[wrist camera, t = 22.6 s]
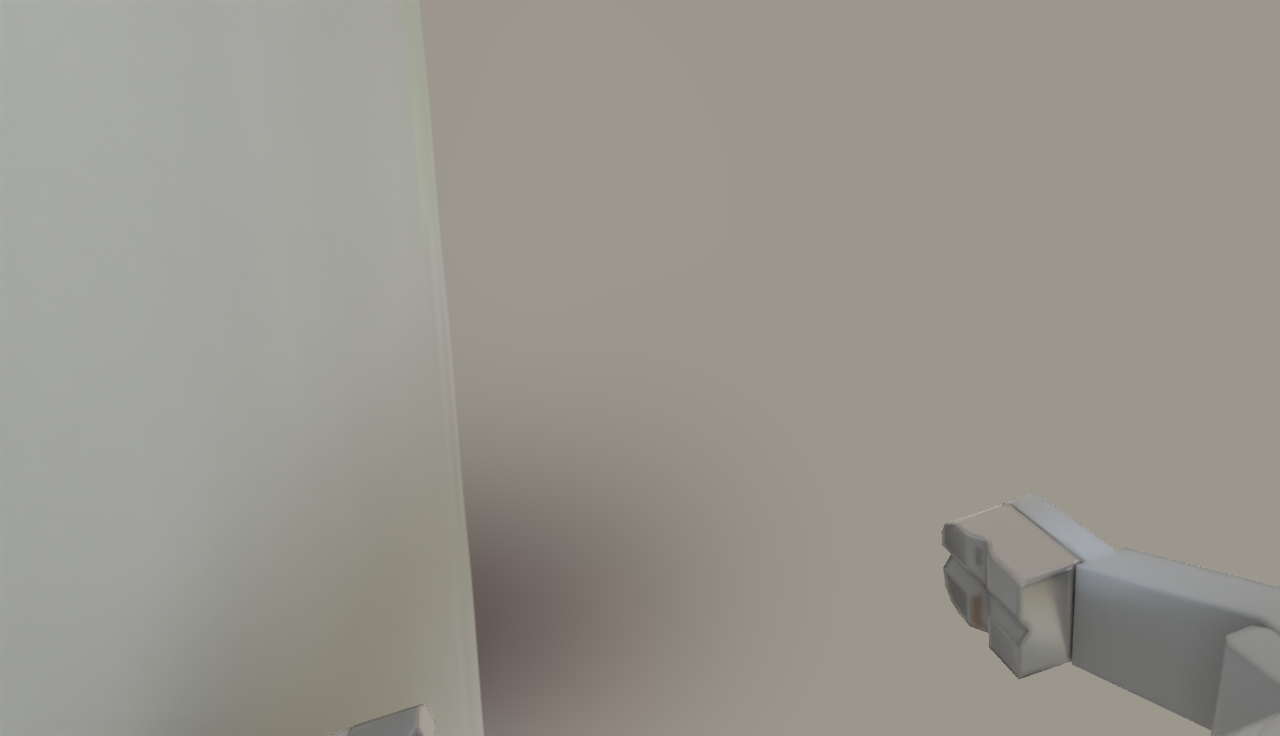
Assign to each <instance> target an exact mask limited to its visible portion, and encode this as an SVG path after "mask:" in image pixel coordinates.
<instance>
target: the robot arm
mask: <svg viewBox="0 0 1280 736" xmlns="http://www.w3.org/2000/svg"><path fill="white" fill-rule="evenodd" d="M942 545H943V546H944V547H945V548H946V549H947V550H948V551H949V552H950V554H951V555H950V557H949V559H948V561H947V563H946V564H945V566H944V568H943V569H944V579H945V586H946V589H947V591H948V594H949V596H950V599H951V602H952V603H953V605H954V606H955V608H956V610H957V611H958V612H959V614H960V615H961V617H962V618H963V619H964V620H965V621H966V622H967V623H968V624H969V625H970V626H971V627H974V628H976V629H979V630H982V631H985V632H987V633H989V647H990V649H991V650H992V651H993V652H994V653H995V654H996V655H997V656H998V657H999V658H1000V659H1001V660H1002V661H1003V663H1004V664H1005V665H1006V666H1007V667H1008V668H1009V669H1010V670H1011V671H1012V672H1013V673H1014V674H1015V676H1016V677H1017V678H1018V679H1021V678H1024V677H1027V676H1030V675H1033V674H1035V673H1038V672H1041V671H1044V670H1047V669H1050V668H1053V667H1056V666H1059V665H1061V664H1065V663H1068V662H1071V661H1072V664H1073V665H1075V666H1077V667H1079V668H1081V669H1083V670H1085V671H1087V672H1089V673H1091V674H1094V675H1096V676H1098V677H1100V678H1102V679H1104V680H1106V681H1108V682H1110V683H1112V684H1115V685H1117V686H1119V687H1121V688H1123V689H1125V690H1128V691H1129V692H1131V693H1134V694H1136V695H1138V696H1140V697H1142V698H1144V699H1146V700H1148V701H1151V702H1153V703H1155V704H1157V705H1159V706H1161V707H1163V708H1165V709H1167V710H1169V711H1171V712H1174V713H1176V714H1178V715H1180V716H1182V717H1184V718H1186V719H1188V720H1190V721H1193V722H1195V723H1197V724H1199V725H1201V726H1203V727H1205V728H1207V729H1209V730H1211V736H1280V587H1276V586H1272V585H1268V584H1264V583H1260V582H1256V581H1252V580H1249V579H1245V578H1241V577H1237V576H1233V575H1229V574H1225V573H1221V572H1218V571H1214V570H1209V569H1205V568H1202V567H1198V566H1194V565H1190V564H1186V563H1183V562H1178V561H1175V560H1171V559H1167V558H1163V557H1159V556H1155V555H1151V554H1148V553H1143V552H1140V551H1136V550H1132V549H1128V548H1123V549H1120V550H1118V551H1116V550H1115V549H1113V548H1112V547H1111V546H1109V545H1108V544H1107V543H1105V542H1104V541H1102V540H1101V539H1100V538H1098V537H1097V536H1096V535H1094V534H1093V533H1092V532H1090V531H1089V530H1088V529H1086V528H1084V527H1083V526H1082V525H1081V524H1079V523H1078V522H1077V521H1075V520H1074V519H1073V518H1071V517H1070V516H1068V515H1067V514H1066V513H1064V512H1063V511H1062V510H1060V509H1059V508H1058V507H1056V506H1055V505H1053V504H1052V503H1051V502H1049V501H1048V500H1047V499H1045V498H1044V497H1043V496H1041V495H1038V494H1035V493H1030V494H1027V495H1024V496H1021V497H1019V498H1016V499H1013V500H1011V501H1007V502H1005V503H1003V504H1002V505H997V506H994V507H991V508H989V509H986V510H983V511H980V512H977V513H974V514H972V515H969V516H966V517H964V518H961V519H958V520H955V521H952V522H949V523H946V524H945V525H944V528H943V531H942ZM325 736H435V720H434V718H433V716H432V714H431V712H430V710H429V708H428V706H427V705H424V704H420V705H417V706H414V707H411V708H407V709H404V710H401V711H398V712H395V713H392V714H389V715H385V716H382V717H379V718H376V719H373V720H370V721H366V722H363V723H360V724H357V725H354V726H353V727H351V728H348V729H344V730H341V731H338V732H335V733H331V734H328V735H325Z"/></svg>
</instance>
